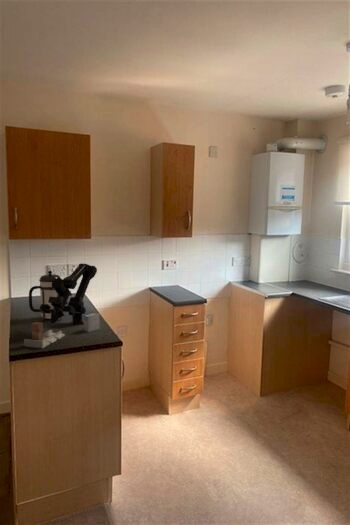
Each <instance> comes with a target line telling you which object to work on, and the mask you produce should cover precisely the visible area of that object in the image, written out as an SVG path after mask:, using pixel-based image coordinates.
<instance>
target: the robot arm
mask: <svg viewBox="0 0 350 525" xmlns="http://www.w3.org/2000/svg"><path fill="white" fill-rule="evenodd" d="M97 271H98V270H97V267H96V265H90V264H88V263H78V266H76V268H75V269H74V270H73V272H72V273H71V274H70V275H68V276H65V277H64V278H62V277H60V278H58V279H57V280H55V281H54V282H52V287H53V289H54V290H55V291H56V292H57V293H58V297H49V301H48V303H52V304H51V305H52V306H53V307H52V306H49V305H48V304H41V303H40V306H39V309H41V310H42V311H43V312H44V313H51V319H50V324H51V325H54V324H55V323H56V322H58V321H59V320H58V319H60V318H63V317H65V313H68V315H69V316H71V318H72V319H71V320H72V321H70V323H71V324H72V326H77V325H84V320H83V315H85V314H86V310H87V309H86V307H85V306H84V304H85V303H84V297H85V295H86V292H87V289H88V286H89V284H90V282H91V280H92V279H93V278H94V277H95V276H96V275H97ZM79 279H81V280H80V282H79V285H78V280H79ZM77 285H78V286H77ZM76 286H77V287H78V288H77V290H76V293H75V295H74V296H72V295H73V294H72V291H71V290H75V288H76ZM69 298H70V299H69ZM68 300H69V301H68Z"/></svg>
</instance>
